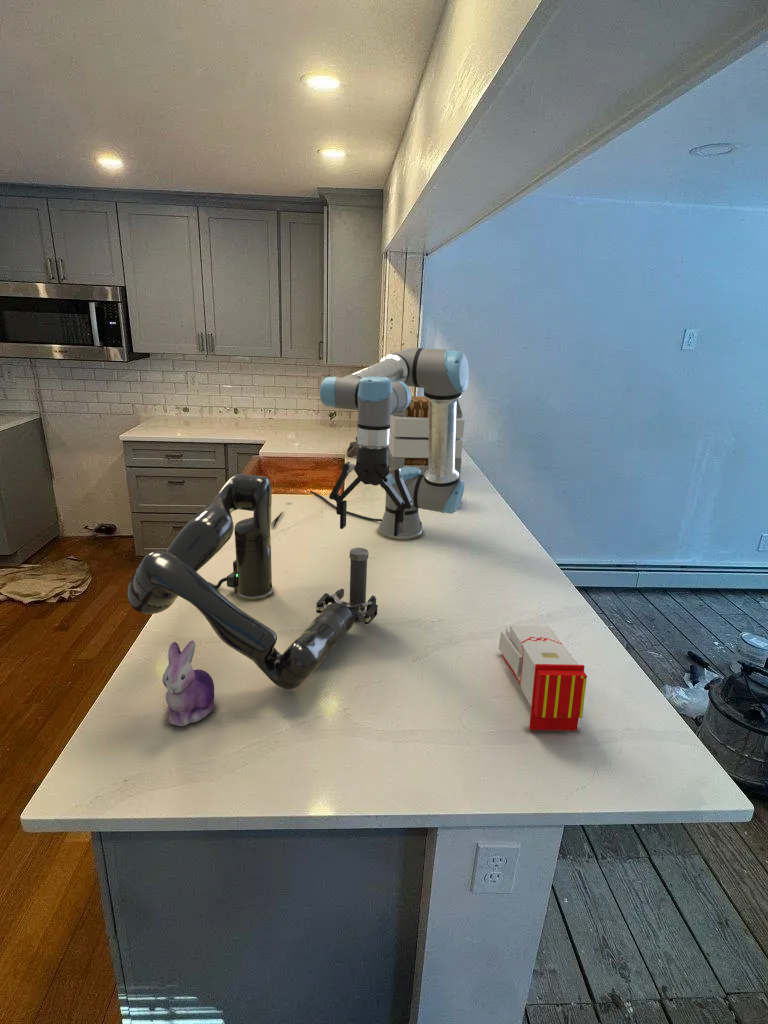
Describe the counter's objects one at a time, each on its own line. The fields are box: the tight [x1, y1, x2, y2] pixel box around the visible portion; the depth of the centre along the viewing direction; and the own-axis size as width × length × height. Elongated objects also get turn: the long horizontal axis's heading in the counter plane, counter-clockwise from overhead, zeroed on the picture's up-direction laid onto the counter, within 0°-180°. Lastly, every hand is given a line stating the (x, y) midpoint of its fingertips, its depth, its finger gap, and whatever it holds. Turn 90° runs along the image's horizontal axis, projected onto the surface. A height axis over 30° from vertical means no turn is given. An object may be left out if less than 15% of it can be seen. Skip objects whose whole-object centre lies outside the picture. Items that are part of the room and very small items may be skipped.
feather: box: [271, 512, 283, 529], centre depth 212 cm, size 2×28×2 cm
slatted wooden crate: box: [387, 395, 465, 480], centre depth 268 cm, size 34×33×41 cm
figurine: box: [161, 640, 215, 727], centre depth 107 cm, size 9×10×15 cm
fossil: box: [346, 435, 359, 458], centre depth 305 cm, size 22×10×15 cm
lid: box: [349, 547, 369, 561], centre depth 139 cm, size 5×5×2 cm
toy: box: [498, 624, 588, 732], centre depth 119 cm, size 12×13×30 cm
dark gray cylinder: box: [348, 559, 368, 622], centre depth 142 cm, size 4×4×18 cm
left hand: (358, 595), depth 143 cm, fingers open, 8 cm apart
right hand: (369, 530), depth 139 cm, fingers open, 13 cm apart
